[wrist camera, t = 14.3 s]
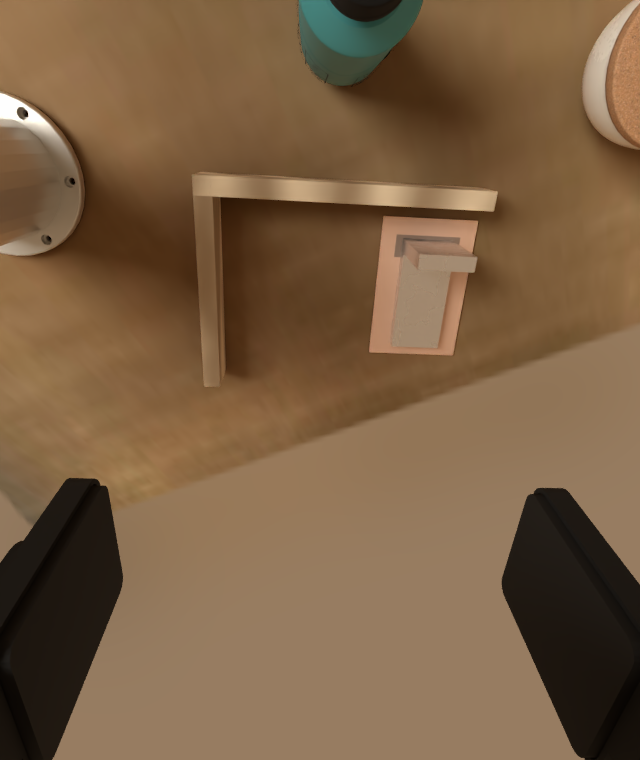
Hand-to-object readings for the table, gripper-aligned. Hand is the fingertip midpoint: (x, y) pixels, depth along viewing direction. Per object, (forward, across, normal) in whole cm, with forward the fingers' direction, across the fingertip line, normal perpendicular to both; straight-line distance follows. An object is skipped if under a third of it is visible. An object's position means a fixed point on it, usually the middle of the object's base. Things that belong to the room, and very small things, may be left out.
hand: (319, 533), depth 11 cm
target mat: (+36, -11, +4) cm, 38 cm away
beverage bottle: (+36, -2, -15) cm, 40 cm away
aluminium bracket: (+36, -11, +4) cm, 38 cm away
